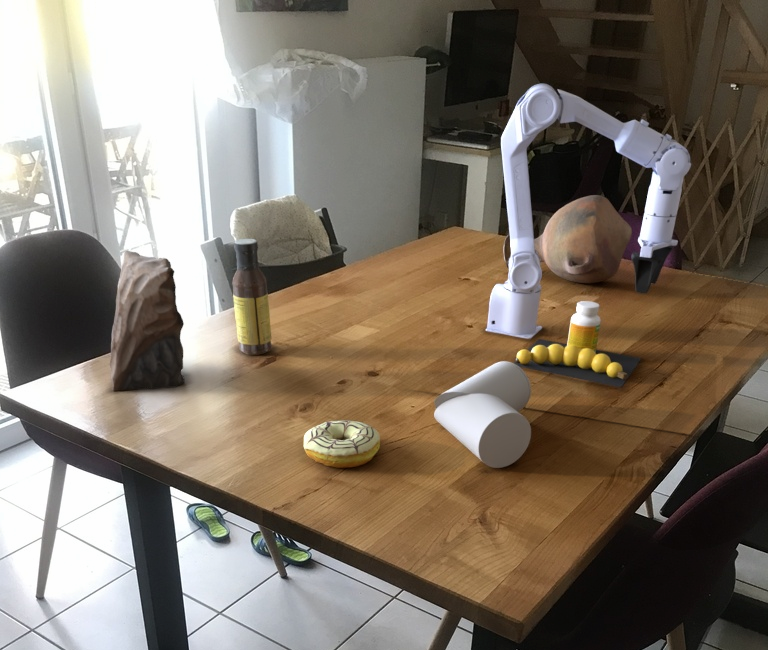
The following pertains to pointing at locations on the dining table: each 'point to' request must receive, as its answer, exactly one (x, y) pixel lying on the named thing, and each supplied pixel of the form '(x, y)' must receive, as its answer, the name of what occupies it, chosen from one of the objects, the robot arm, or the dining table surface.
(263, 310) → the sauce bottle
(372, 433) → the decorated donut
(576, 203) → the jug
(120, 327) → the brown rock
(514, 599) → the dining table surface
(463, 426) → the bent grey cylinder
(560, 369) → the placemat
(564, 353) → the yellow lumpy bar
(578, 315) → the supplement bottle
